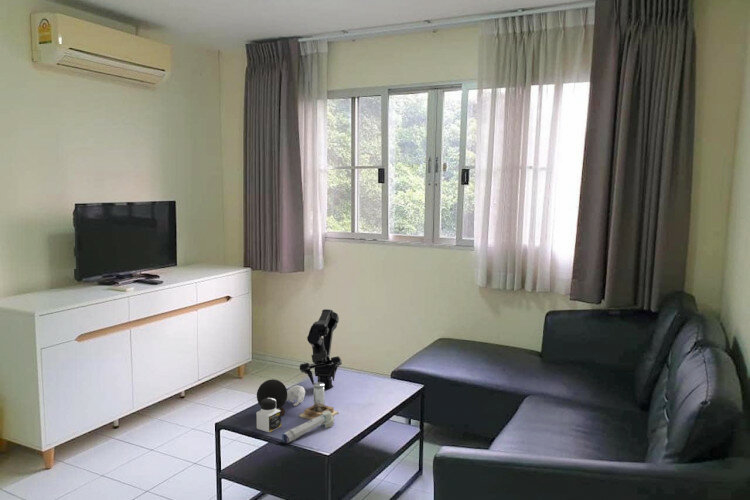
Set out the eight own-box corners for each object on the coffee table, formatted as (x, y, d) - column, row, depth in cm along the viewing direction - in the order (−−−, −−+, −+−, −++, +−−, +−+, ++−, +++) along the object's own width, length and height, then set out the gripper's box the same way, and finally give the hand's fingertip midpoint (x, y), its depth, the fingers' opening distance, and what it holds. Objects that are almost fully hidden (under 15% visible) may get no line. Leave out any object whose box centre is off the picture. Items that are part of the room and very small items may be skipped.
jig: (299, 416, 233) (299, 410, 233) (316, 407, 243) (316, 401, 243) (321, 423, 227) (321, 416, 227) (338, 413, 237) (338, 407, 237)
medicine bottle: (269, 433, 217) (268, 404, 216) (256, 428, 221) (255, 400, 220) (281, 426, 223) (281, 398, 222) (268, 422, 227) (268, 395, 226)
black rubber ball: (293, 412, 238) (293, 379, 236) (271, 422, 227) (270, 387, 226) (273, 405, 246) (272, 373, 244) (250, 414, 235) (250, 381, 234)
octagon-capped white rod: (279, 431, 210) (327, 405, 227) (281, 447, 211) (329, 420, 229) (288, 436, 206) (336, 408, 224) (290, 451, 207) (337, 423, 225)
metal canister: (311, 412, 235) (311, 383, 234) (320, 410, 238) (320, 381, 237) (317, 416, 232) (317, 386, 231) (326, 413, 235) (326, 384, 234)
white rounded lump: (298, 388, 243) (276, 386, 248) (300, 407, 243) (278, 405, 248) (306, 384, 248) (284, 382, 253) (307, 402, 249) (286, 400, 254)
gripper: (294, 349, 244) (299, 383, 237) (335, 340, 243) (340, 375, 237) (300, 355, 254) (304, 388, 247) (339, 347, 253) (344, 380, 247)
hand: (323, 383), depth 244 cm, fingers open, 9 cm apart
